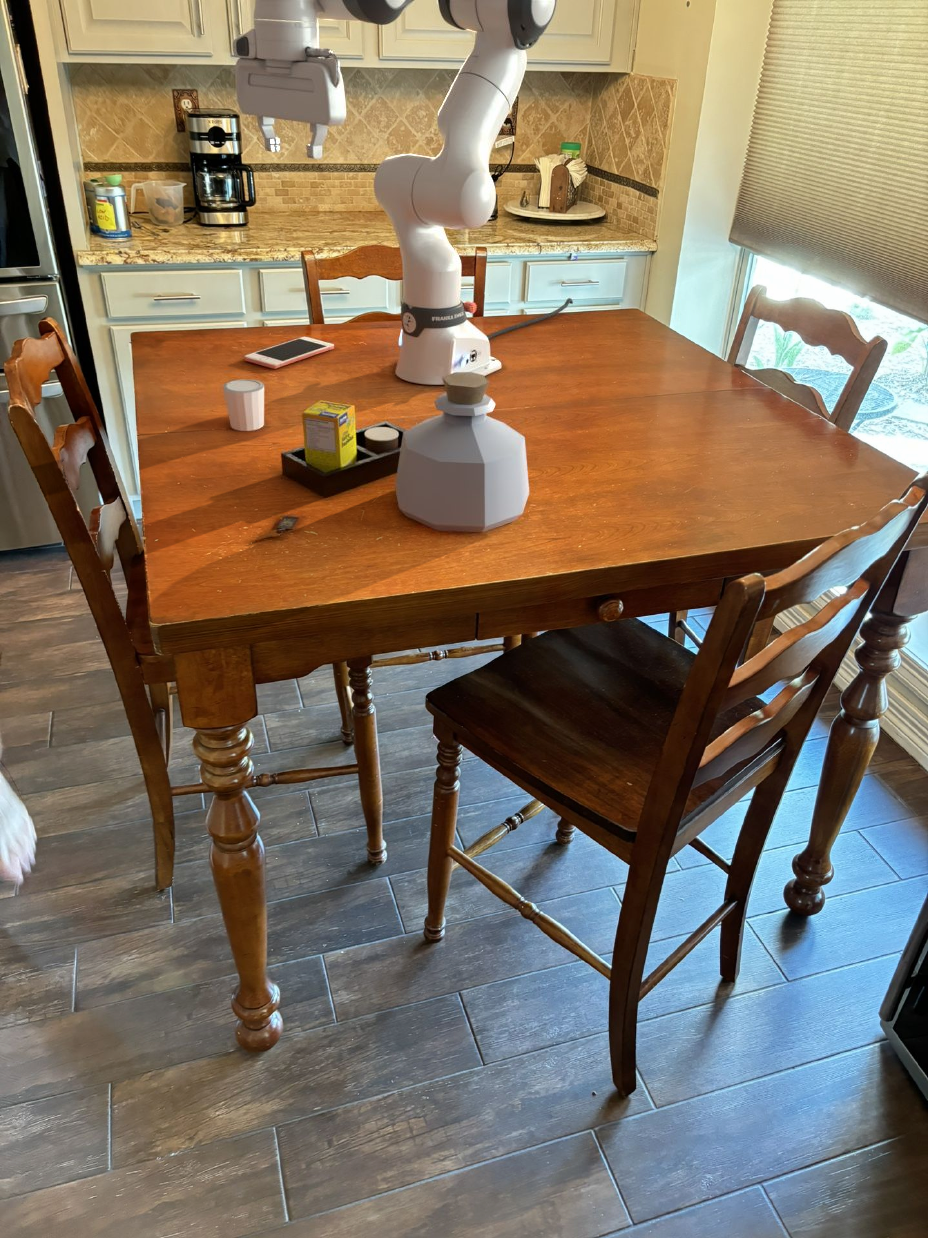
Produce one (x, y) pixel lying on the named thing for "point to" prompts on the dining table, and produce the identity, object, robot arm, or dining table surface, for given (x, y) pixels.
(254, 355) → the cell phone
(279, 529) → the key tag
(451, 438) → the bottle
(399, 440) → the tray
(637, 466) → the dining table surface
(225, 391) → the shot glass
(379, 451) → the cylinder
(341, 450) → the supplement box
